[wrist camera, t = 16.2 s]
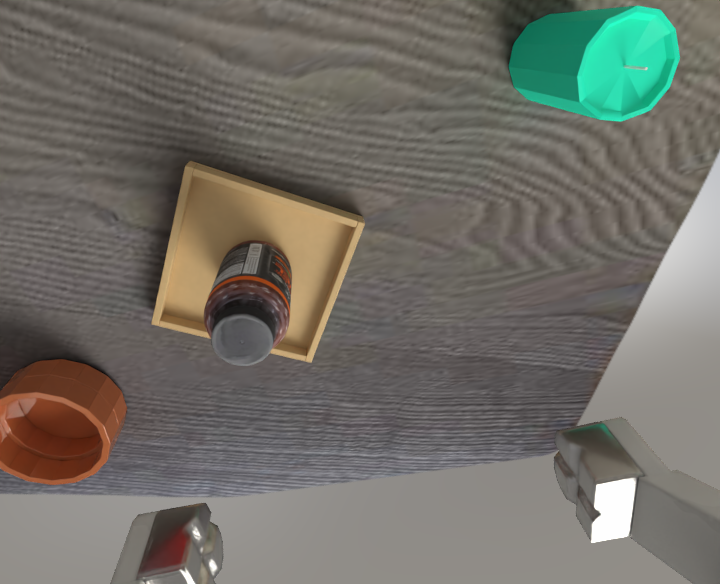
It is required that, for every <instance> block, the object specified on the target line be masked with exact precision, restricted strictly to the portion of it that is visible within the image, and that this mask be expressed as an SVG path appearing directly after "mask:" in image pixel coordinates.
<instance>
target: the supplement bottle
mask: <svg viewBox="0 0 720 584" xmlns="http://www.w3.org/2000/svg"><path fill="white" fill-rule="evenodd" d="M291 289H292V270H291V266H290V262H289V260H288V258H287V257H286V255H285V254H284V253H283V252H282V251H281V250H280V249H279V248H277V247H276V246H274V245H273V244H271V243H268V242H265V241H258V240H250V241H245V242H242V243H240V244H237V245H236V246H234V247H233V248H232V249H231V250H230V251H228V253H227V254H226V256H225V257H224V259H223V261H222V263H221V265H220V268H219V271H218V273H217V276H216V278H215V281H214V284H213V286H212V289H211V291H210V294H209V297H208V299H207V302H206V305H205V309H204V325H205V328H206V331H207V333H208V335H209V336H210V338H211V343H212V347H213V349H214V351H215V352H216V354H217V355H218V356H219V357H220V358H221V359H222V360H224V361H226V362H228V363H230V364H233V365H238V366H249V365H253V364H256V363H259V362H260V361H262V360H263V359H265V358H266V357H267V356H268V355H269V353H270V352H271V350H272V349H273V348H274V347H276V346H277V345H278V344H279V343H280V342H281V340H282V339H283V338H284V336H285V334H286V332H287V329H288V326H289V321H290V306H291Z"/></svg>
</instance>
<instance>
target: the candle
mask: <svg viewBox="0 0 720 584" xmlns="http://www.w3.org/2000/svg"><path fill="white" fill-rule="evenodd" d="M679 59H680V54H679V48H678V42H677V36H676V29H675V28H674V27H673V25H672V24H671V23H670V21H669V20H668V19H667V17H666V16H665V15H664V14H663V12H662V11H661V10H659V9H653V8H647V7H642V6H629V7H619V8H608V9H598V10H587V11H577V12H566V13H556V14H548V15H546V16H544V17H542V18H540V19H538V20H536V21H534V22H532V23H529V24H528V25H527V26H526V28H525V29H524V30H523V32H522V33H521V34H520V36H519V37H518V38H517V40H516V41H515V42H514V44H513V48H512V53H511V57H510V62H509V71H510V74H511V78H512V82H513V86H514V88H515V89H517V90H518V91H519V92H520V93H521V94H522V95H523V96H524V97H525V98H527V99H528V100H531V101H534V102H538V103H542V104H545V105H549V106H552V107H556V108H560V109H563V110H567V111H570V112H574V113H578V114H581V115H585V116H588V117H592V118H596V119H599V120H610V121H624V120H627V119H629V118H632V117H635V116H637V115H640V114H643V113H645V112H648V111H650V110H651V109H652V108H653V107H654V105H655V104H656V103H657V102H658V101H659V100H660V98H661V97H662V96H663V95H664V94H665V92H666V91H667V90H668V89H669V88H670V85H671V82H672V79H673V77H674V74H675V71H676V68H677V65H678V62H679Z"/></svg>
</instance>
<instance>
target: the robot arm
mask: <svg viewBox="0 0 720 584" xmlns="http://www.w3.org/2000/svg"><path fill="white" fill-rule="evenodd" d="M554 443H555V445H556V447H557V448H558V450H559V452H558V453H557V454H556V456H555V457H554V469H555V473H556V477H557V481H558V483H559V485H560V488H561V490H562V492H563V494H564V495H565V497H566V499H568V500H569V501H571V502H572V503H574V504H576V505H577V507H576V516H577V518H578V520H579V522H580V524H581V525H582V527H583V529H584V530H585V532H586V534H587V535H588V537H589V539H590V541H591V542H598V541H604V540H609V539H615V538H621V537H626V536H631V539H633V540H634V541H635V542H637V543H638V544H639V545H641V546H642V547H644V548H645V549H646V550H648V551H649V552H650V553H652V554H653V555H655V556H656V557H657V558H659V559H660V560H661V561H663V562H664V563H666V564H667V565H668V566H670V567H671V568H672V569H674V570H675V571H676V572H678V573H679V574H680V575H682V576H683V577H684V578H686V579H687V580H689V581H690V582H691V583H693V584H720V490H718V489H715V488H713V487H711V486H709V485H707V484H705V483H703V482H701V481H699V480H696V479H695V478H693V477H691V476H688V475H687V474H684V473H682V472H680V471H678V470H675V471H670V470H669V469H668V468H667V467H666V465H665V464H664V463H663V462H662V461H661V460H660V458H659V457H658V456H657V455H656V454H655V453H654V451H653V450H652V449H651V448H650V447H649V446H648V444H647V443H646V442H645V441H644V440H643V439H642V437H641V436H640V435H639V434H638V433H637V432H636V430H635V429H634V428H633V427H632V426H631V425H630V424H629V422H627V420H626V419H624V418H622V417H619V418H615V419H610V420H605V421H600V422H594V423H590V424H586V425H581V426H576V427H571V428H567V429H562V430H557V431H556V433H555V440H554ZM210 516H211V511H210V510H209V508H208V506H207V504H206V503H200V504H194V505H188V506H183V507H177V508H171V509H166V510H160V511H156V512H151V513H145V514H139V515H138V516H137V517H136V518H135V519H134V521H133V522H132V525H131V528H130V530H129V533H128V536H127V539H126V541H125V544H124V547H123V550H122V552H121V555H120V558H119V561H118V564H117V567H116V569H115V572H114V575H113V577H112V580H111V583H110V584H215V582H214V578H215V577H216V576H217V574H218V573H219V572H220V570H221V568H222V561H223V541H222V537H221V533H220V531H219V528H218V526H217V525H215V524H213V523H212V522H210Z"/></svg>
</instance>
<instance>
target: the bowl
mask: <svg viewBox="0 0 720 584" xmlns="http://www.w3.org/2000/svg"><path fill="white" fill-rule="evenodd" d="M126 413H127V406H126V403H125V400H124V397H123V394H122V392H121V390H120V389H119V388H118V387H117V386H116V385H115V383H114V382H113V381H112V380H111V379H110V378H109V377H108V376H107V375H105V374H103V373H101V372H100V371H98V370H96V369H94V368H92V367H90V366H89V365H86V364H83V363H78V362H73V361H69V360H64V359H56V360H45V361H37V362H35V363H33V364H31V365H28V366H26V367H24V368H22V369H20V370H18V371H17V372H16V373H15V375H14V376H13V377H12V378H11V379H10V380H9V382H8V383H7V384H6V385H5V386H4V387H3V389H2V390H1V391H0V468H1V469H2V470H3V471H5V472H7V473H10V474H12V475H14V476H17V477H19V478H21V479H24V480H26V481H30V482H37V483H43V484H50V485H57V484H66V483H75V482H78V481H80V480H82V479H85V478H87V477H89V476H91V475H94V474H95V473H96V472H97V471H98V470H99V469H100V468H101V467H102V466H103V465H104V464H105V462H106V461H107V460H108V458H109V456H110V453H111V451H112V449H113V447H114V445H115V443H116V440H117V438H118V436H119V434H120V432H121V430H122V428H123V425H124V422H125V417H126Z"/></svg>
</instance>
